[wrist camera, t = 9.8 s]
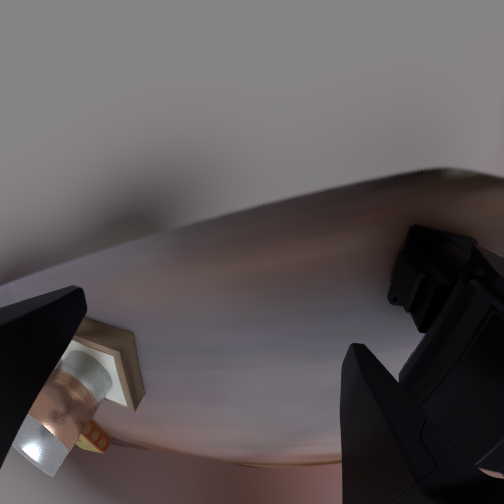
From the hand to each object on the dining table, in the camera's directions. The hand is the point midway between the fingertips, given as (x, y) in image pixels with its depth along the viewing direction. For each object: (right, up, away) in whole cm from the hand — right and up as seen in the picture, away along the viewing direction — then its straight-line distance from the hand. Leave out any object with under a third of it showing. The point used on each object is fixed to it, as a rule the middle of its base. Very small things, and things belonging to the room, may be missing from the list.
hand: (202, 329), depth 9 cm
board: (-16, -9, +21) cm, 28 cm away
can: (-16, -11, +18) cm, 27 cm away
